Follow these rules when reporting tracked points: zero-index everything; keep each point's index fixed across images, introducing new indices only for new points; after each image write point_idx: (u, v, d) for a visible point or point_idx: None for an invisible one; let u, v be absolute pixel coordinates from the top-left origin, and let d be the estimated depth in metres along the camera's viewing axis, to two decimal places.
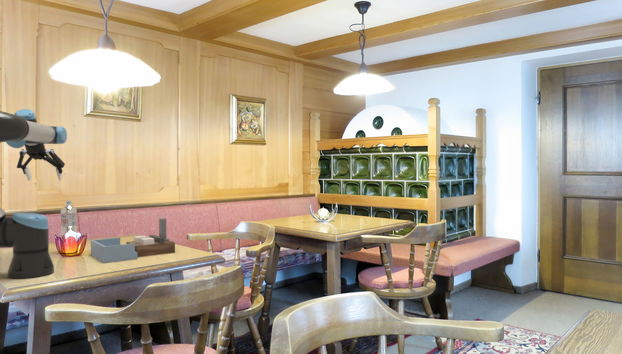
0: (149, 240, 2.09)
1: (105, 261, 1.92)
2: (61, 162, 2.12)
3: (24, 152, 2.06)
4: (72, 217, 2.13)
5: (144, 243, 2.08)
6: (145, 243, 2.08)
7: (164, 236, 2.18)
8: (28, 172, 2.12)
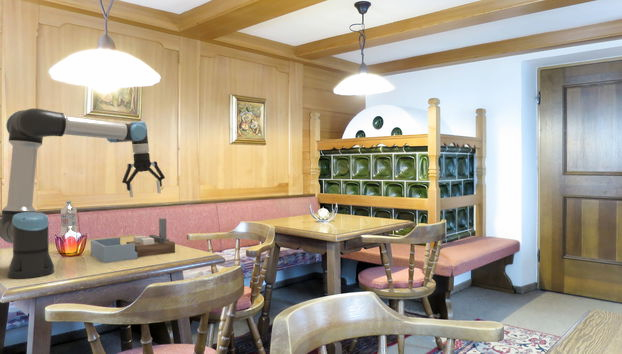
0: (149, 240, 2.09)
1: (105, 261, 1.92)
2: None
3: (132, 165, 2.19)
4: (72, 217, 2.13)
5: (144, 243, 2.08)
6: (145, 243, 2.08)
7: (164, 236, 2.18)
8: None
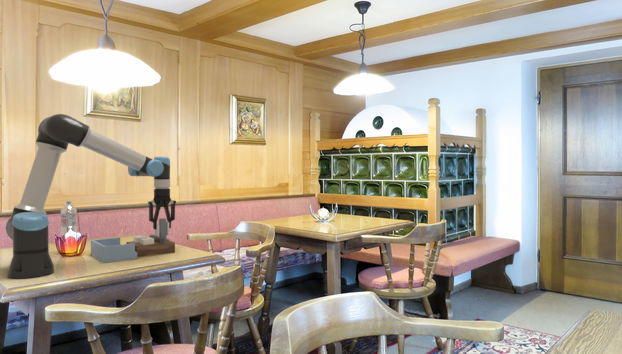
0: (149, 240, 2.09)
1: (105, 261, 1.92)
2: None
3: (152, 201, 2.16)
4: (72, 217, 2.13)
5: (144, 243, 2.08)
6: (145, 243, 2.08)
7: (164, 236, 2.18)
8: None
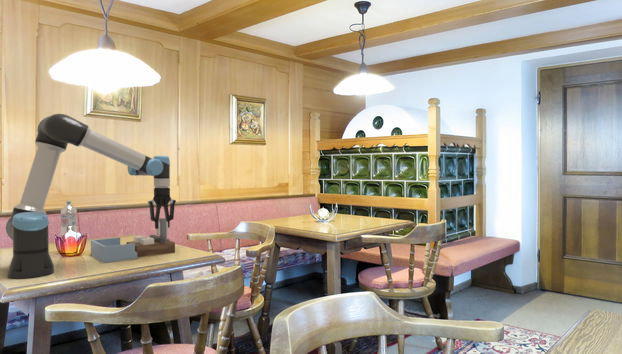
0: (149, 240, 2.09)
1: (105, 261, 1.92)
2: None
3: (152, 201, 2.16)
4: (72, 217, 2.13)
5: (144, 243, 2.08)
6: (145, 243, 2.08)
7: (164, 236, 2.18)
8: None
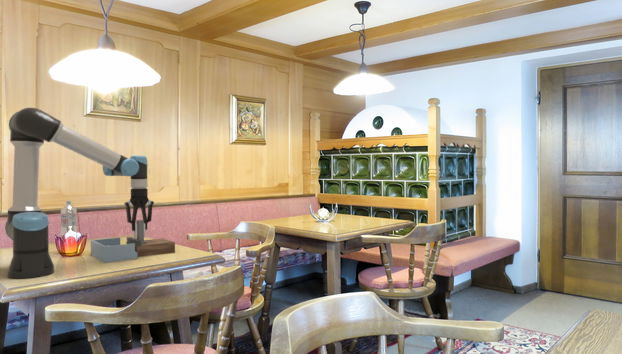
0: None
1: (105, 261, 1.92)
2: None
3: (129, 202, 2.09)
4: (72, 217, 2.13)
5: None
6: None
7: (141, 238, 2.12)
8: None
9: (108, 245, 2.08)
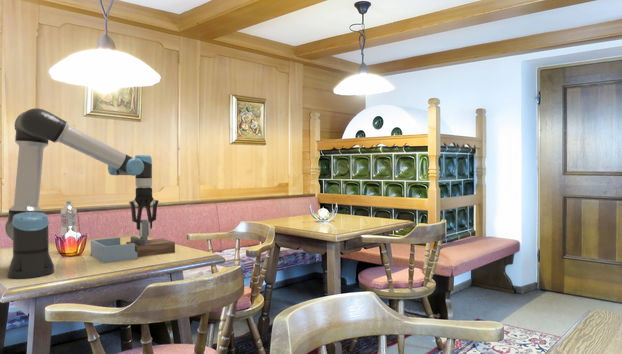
0: None
1: (105, 261, 1.92)
2: None
3: (134, 201, 2.10)
4: (72, 217, 2.13)
5: None
6: None
7: (145, 238, 2.13)
8: None
9: None
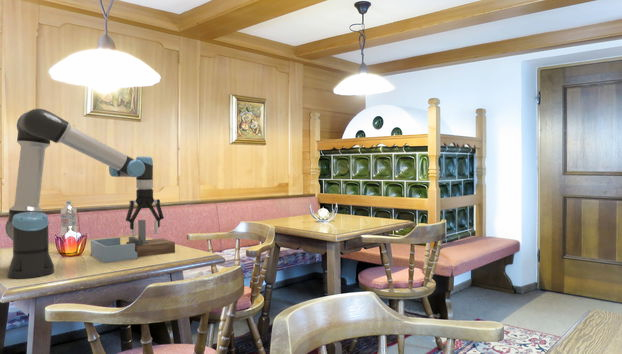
0: None
1: (105, 261, 1.92)
2: None
3: (134, 201, 2.10)
4: (72, 217, 2.13)
5: None
6: None
7: (143, 238, 2.12)
8: None
9: None
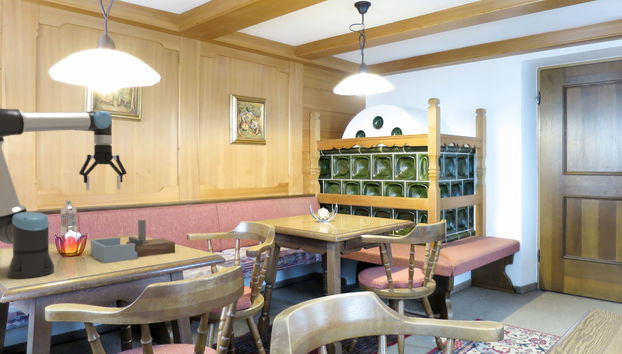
0: None
1: (105, 261, 1.92)
2: None
3: (91, 156, 2.06)
4: (72, 217, 2.13)
5: None
6: None
7: (143, 238, 2.12)
8: None
9: None
